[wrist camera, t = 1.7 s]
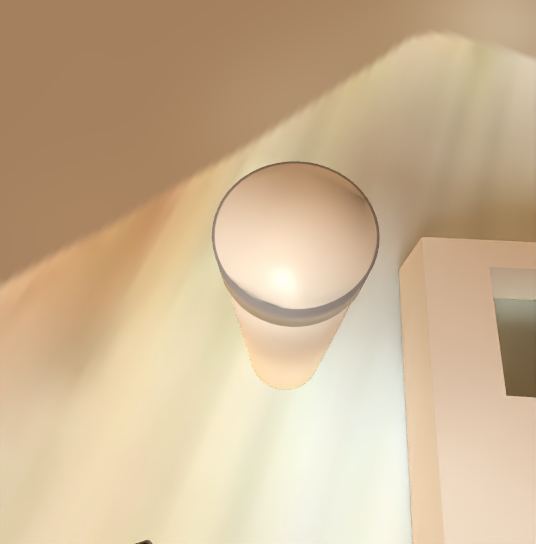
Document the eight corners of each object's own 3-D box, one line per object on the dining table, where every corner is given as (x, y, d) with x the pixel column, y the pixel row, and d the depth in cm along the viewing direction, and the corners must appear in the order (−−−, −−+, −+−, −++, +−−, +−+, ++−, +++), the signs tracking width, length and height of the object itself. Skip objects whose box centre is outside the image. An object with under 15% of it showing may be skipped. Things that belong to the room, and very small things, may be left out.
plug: (334, 357, 22) (414, 236, 9) (282, 406, 21) (290, 348, 8) (287, 306, 23) (299, 135, 10) (235, 351, 22) (178, 225, 9)
